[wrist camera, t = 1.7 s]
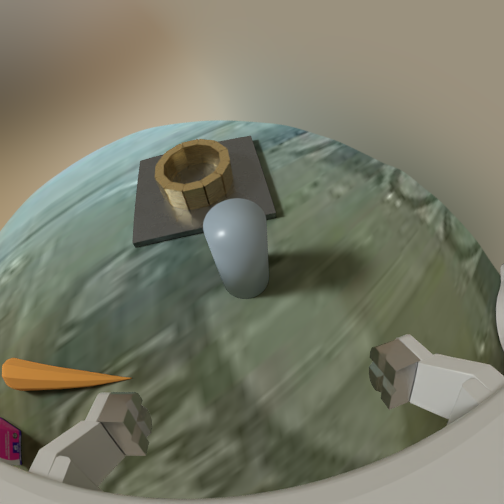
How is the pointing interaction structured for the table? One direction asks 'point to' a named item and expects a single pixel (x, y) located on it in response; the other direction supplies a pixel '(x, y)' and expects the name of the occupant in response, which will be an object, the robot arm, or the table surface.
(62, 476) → the robot arm
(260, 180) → the mounting plate
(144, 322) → the table surface
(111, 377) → the carrot
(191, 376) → the table surface
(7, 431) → the supplement box
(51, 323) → the table surface
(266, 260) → the grey capsule peg
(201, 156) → the brass socket
